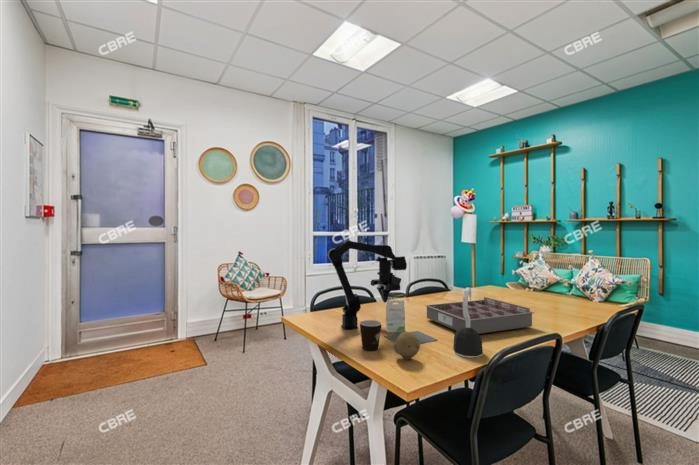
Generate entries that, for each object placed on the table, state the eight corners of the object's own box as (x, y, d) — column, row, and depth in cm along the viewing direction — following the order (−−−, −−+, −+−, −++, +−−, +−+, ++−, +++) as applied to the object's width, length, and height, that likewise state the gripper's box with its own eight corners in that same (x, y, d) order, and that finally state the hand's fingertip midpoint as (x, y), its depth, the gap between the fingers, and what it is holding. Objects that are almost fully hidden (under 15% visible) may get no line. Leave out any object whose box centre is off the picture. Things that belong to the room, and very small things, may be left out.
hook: (456, 345, 136) (456, 284, 136) (485, 350, 130) (485, 286, 130) (449, 354, 126) (449, 288, 126) (480, 360, 120) (480, 291, 120)
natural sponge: (423, 364, 117) (423, 335, 117) (398, 365, 116) (398, 336, 116) (416, 354, 126) (416, 328, 126) (392, 355, 125) (392, 328, 125)
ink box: (404, 329, 158) (404, 298, 157) (405, 332, 153) (405, 300, 153) (385, 329, 158) (386, 298, 158) (386, 332, 153) (386, 300, 153)
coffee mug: (366, 353, 127) (366, 327, 127) (355, 346, 135) (355, 321, 134) (391, 348, 132) (392, 323, 132) (380, 342, 140) (380, 318, 140)
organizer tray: (424, 320, 174) (424, 301, 174) (484, 313, 189) (484, 296, 189) (466, 339, 144) (466, 316, 144) (534, 329, 159) (534, 308, 159)
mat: (402, 346, 134) (402, 345, 134) (384, 336, 147) (384, 335, 147) (437, 340, 142) (437, 339, 142) (417, 331, 155) (417, 330, 155)
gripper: (409, 271, 159) (409, 304, 159) (388, 267, 176) (388, 297, 176) (389, 273, 154) (389, 306, 154) (370, 268, 171) (370, 299, 171)
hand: (384, 302), depth 164 cm, fingers closed
